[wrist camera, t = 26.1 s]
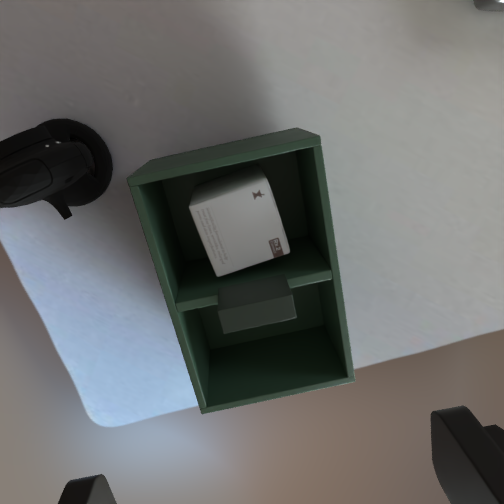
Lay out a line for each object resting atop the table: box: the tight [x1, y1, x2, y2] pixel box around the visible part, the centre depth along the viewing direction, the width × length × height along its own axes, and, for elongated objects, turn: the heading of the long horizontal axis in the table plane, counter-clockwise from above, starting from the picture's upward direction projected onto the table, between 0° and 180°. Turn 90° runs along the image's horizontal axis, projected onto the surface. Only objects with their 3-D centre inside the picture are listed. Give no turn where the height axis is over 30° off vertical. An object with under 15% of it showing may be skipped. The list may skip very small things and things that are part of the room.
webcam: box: [0, 119, 113, 220], centre depth 31 cm, size 8×8×10 cm
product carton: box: [189, 164, 290, 277], centre depth 33 cm, size 6×6×7 cm
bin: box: [127, 128, 355, 414], centre depth 33 cm, size 20×13×12 cm, turn 12°
